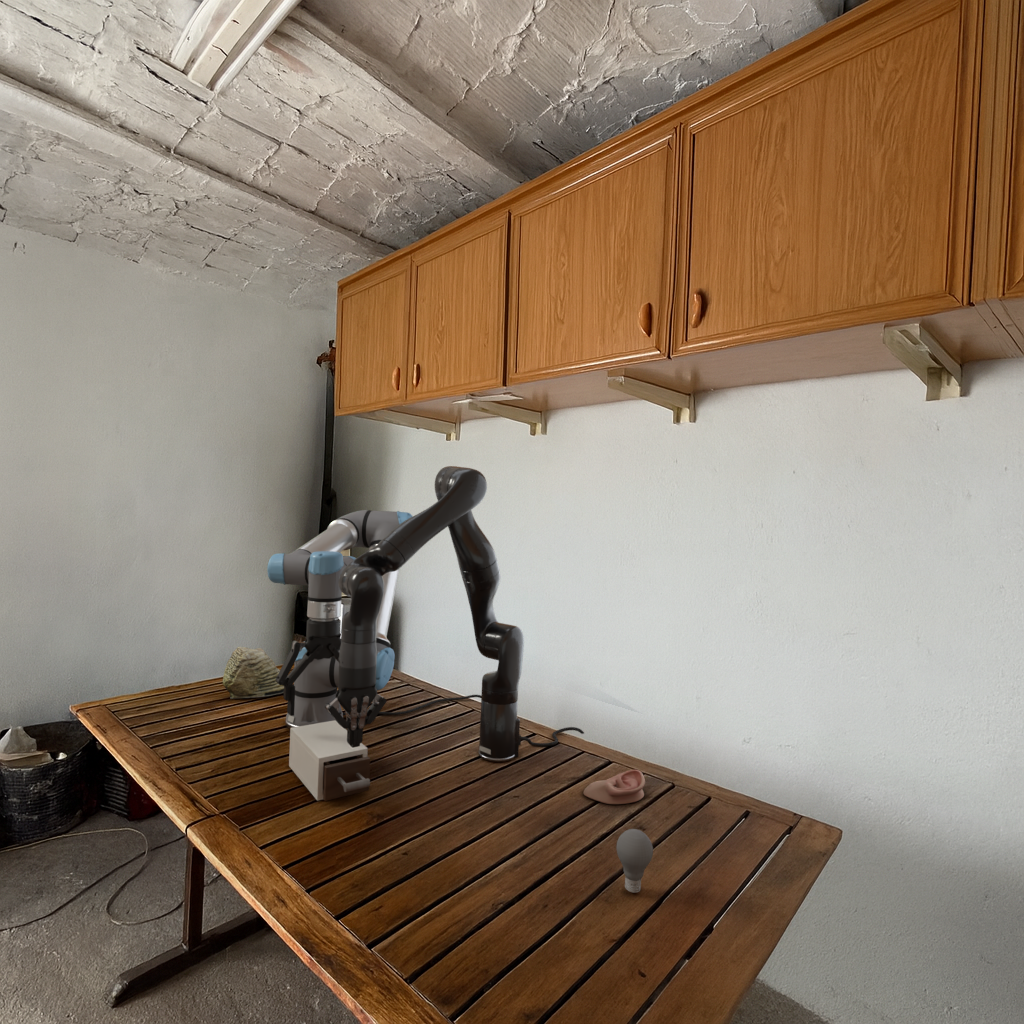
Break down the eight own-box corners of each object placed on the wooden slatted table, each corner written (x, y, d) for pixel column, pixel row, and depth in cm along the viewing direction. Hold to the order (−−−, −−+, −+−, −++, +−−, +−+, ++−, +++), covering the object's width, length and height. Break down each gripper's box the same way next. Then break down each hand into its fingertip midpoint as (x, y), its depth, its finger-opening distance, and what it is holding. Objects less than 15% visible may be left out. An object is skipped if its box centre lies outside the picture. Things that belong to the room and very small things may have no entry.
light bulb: (610, 879, 108) (613, 822, 108) (644, 879, 109) (647, 822, 109) (619, 902, 102) (622, 840, 102) (655, 901, 103) (658, 840, 103)
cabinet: (366, 789, 138) (367, 748, 138) (317, 801, 132) (318, 758, 132) (333, 756, 154) (335, 720, 154) (288, 766, 148) (290, 727, 148)
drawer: (379, 800, 131) (380, 767, 131) (334, 812, 125) (335, 778, 125) (337, 759, 150) (339, 730, 150) (297, 767, 145) (298, 737, 145)
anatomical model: (582, 782, 137) (587, 761, 148) (581, 800, 137) (586, 778, 148) (645, 790, 134) (645, 768, 145) (644, 809, 134) (644, 785, 145)
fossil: (218, 695, 195) (220, 647, 195) (278, 685, 208) (279, 640, 207) (228, 703, 189) (230, 653, 188) (289, 692, 201) (290, 645, 201)
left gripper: (273, 625, 137) (269, 723, 137) (380, 617, 151) (377, 705, 151) (263, 619, 143) (260, 712, 143) (368, 612, 157) (364, 697, 157)
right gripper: (332, 670, 123) (329, 758, 123) (395, 662, 131) (392, 745, 131) (319, 661, 129) (316, 745, 130) (380, 654, 137) (377, 734, 137)
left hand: (320, 709), depth 147 cm, fingers open, 13 cm apart
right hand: (354, 745), depth 130 cm, fingers closed
